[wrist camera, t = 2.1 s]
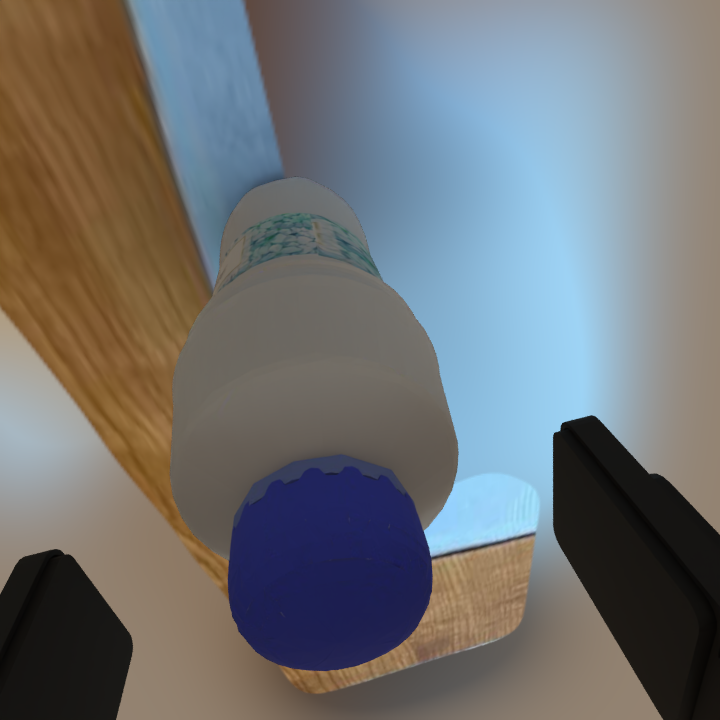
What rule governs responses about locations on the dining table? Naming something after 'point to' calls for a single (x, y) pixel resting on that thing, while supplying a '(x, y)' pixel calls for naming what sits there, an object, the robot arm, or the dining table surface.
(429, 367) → the bottle
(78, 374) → the dining table surface
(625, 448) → the robot arm
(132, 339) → the dining table surface
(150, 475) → the dining table surface
